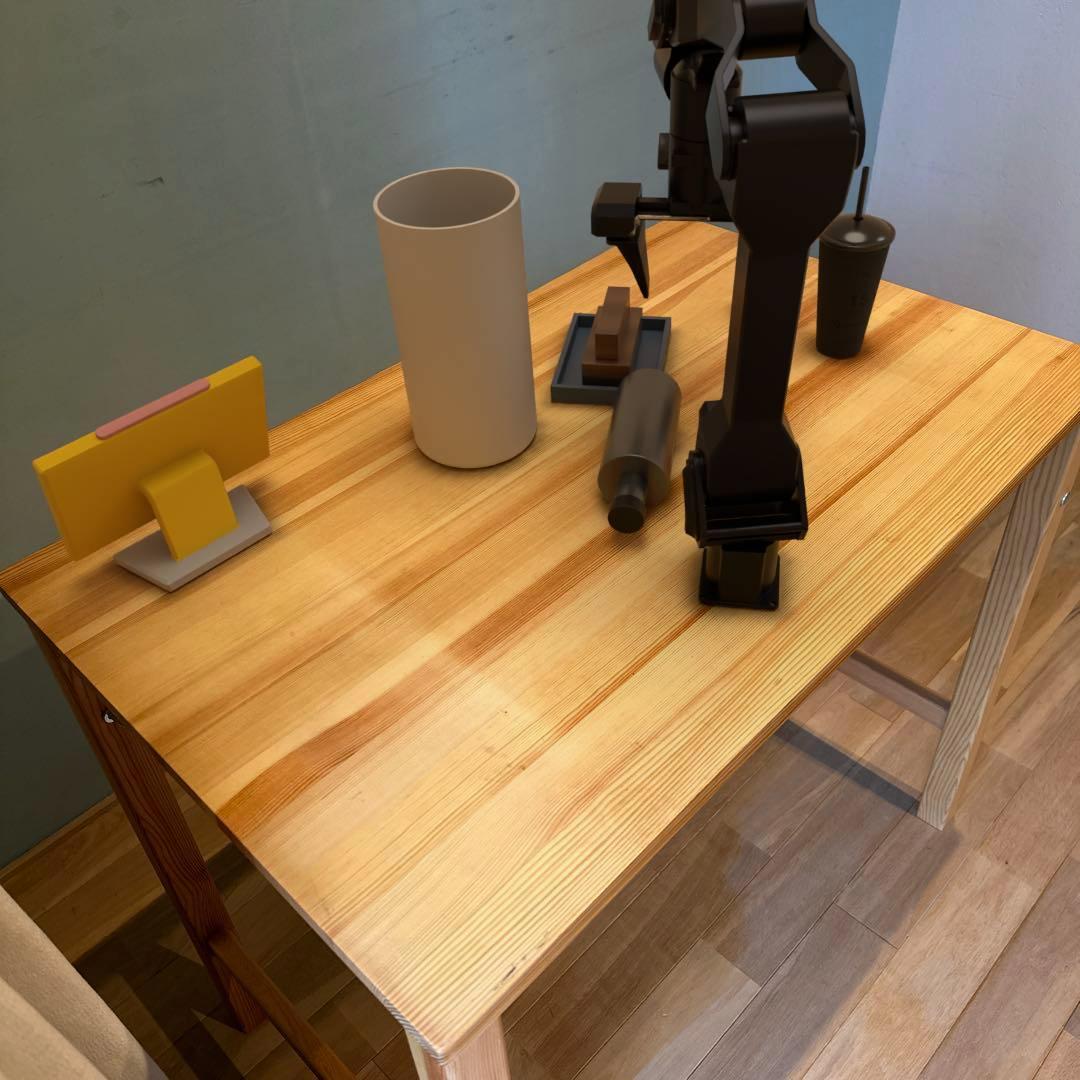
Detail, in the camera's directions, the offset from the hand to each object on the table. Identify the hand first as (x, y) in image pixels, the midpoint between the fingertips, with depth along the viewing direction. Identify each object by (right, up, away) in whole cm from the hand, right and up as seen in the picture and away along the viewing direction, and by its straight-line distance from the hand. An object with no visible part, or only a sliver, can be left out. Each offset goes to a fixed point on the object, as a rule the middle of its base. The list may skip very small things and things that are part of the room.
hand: (695, 298), depth 94 cm
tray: (-7, -4, +16) cm, 18 cm away
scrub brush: (-7, -3, +16) cm, 17 cm away
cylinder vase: (-21, -12, +8) cm, 26 cm away
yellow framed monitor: (-46, -23, -2) cm, 51 cm away
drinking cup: (+18, -2, +16) cm, 24 cm away
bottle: (-5, -17, +1) cm, 18 cm away
